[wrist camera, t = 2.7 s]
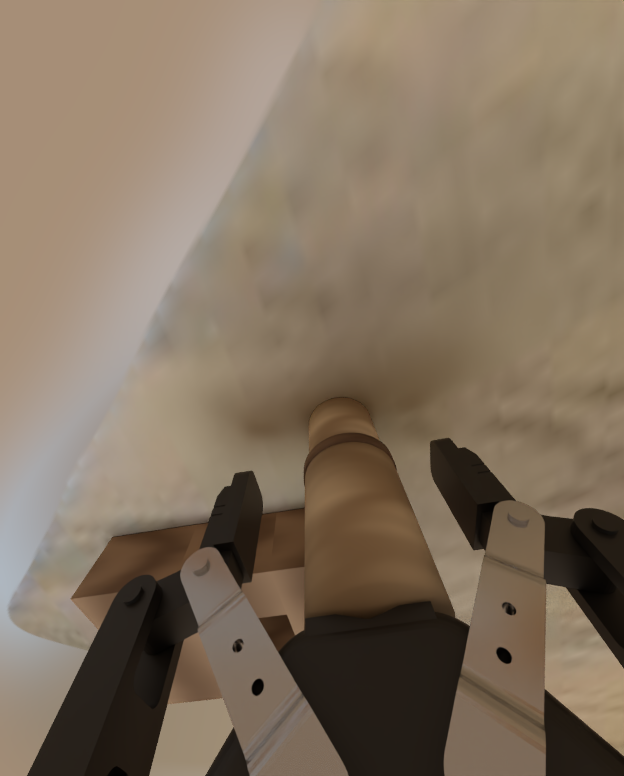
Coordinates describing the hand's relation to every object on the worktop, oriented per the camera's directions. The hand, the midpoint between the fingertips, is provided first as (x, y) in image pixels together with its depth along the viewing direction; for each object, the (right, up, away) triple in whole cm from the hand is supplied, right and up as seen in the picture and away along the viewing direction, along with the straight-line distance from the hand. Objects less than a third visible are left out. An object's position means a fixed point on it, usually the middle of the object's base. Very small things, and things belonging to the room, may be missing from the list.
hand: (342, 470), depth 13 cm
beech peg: (0, +2, +4) cm, 4 cm away
